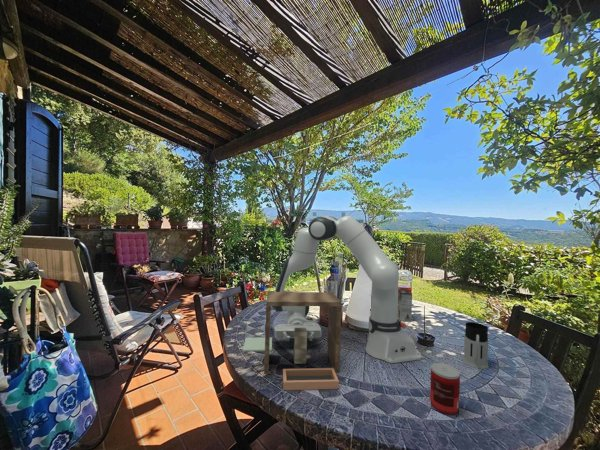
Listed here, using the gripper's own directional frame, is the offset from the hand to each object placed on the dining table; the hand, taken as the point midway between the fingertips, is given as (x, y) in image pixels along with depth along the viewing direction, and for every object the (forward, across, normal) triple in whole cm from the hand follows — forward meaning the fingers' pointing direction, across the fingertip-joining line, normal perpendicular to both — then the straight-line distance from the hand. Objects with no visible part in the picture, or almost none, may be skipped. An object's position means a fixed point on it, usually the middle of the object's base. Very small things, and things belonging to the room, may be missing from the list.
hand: (299, 339), depth 109 cm
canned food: (+32, +41, +7) cm, 53 cm away
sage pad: (-9, -17, +6) cm, 21 cm away
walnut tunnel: (+6, 0, +6) cm, 9 cm away
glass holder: (+10, +69, +7) cm, 70 cm away
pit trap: (+19, +2, +6) cm, 20 cm away
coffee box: (-42, +66, +7) cm, 78 cm away
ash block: (+4, 0, +6) cm, 8 cm away
